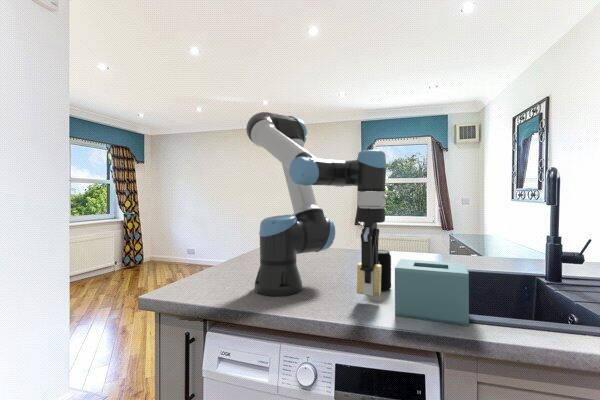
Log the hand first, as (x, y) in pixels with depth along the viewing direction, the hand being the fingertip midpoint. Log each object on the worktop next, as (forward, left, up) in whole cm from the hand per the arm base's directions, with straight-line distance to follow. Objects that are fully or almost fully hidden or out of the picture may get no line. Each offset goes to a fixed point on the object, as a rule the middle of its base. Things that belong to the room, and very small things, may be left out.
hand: (369, 292), depth 85 cm
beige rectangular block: (0, 0, 0) cm, 0 cm away
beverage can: (0, +15, -3) cm, 15 cm away
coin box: (+16, -1, -3) cm, 16 cm away
